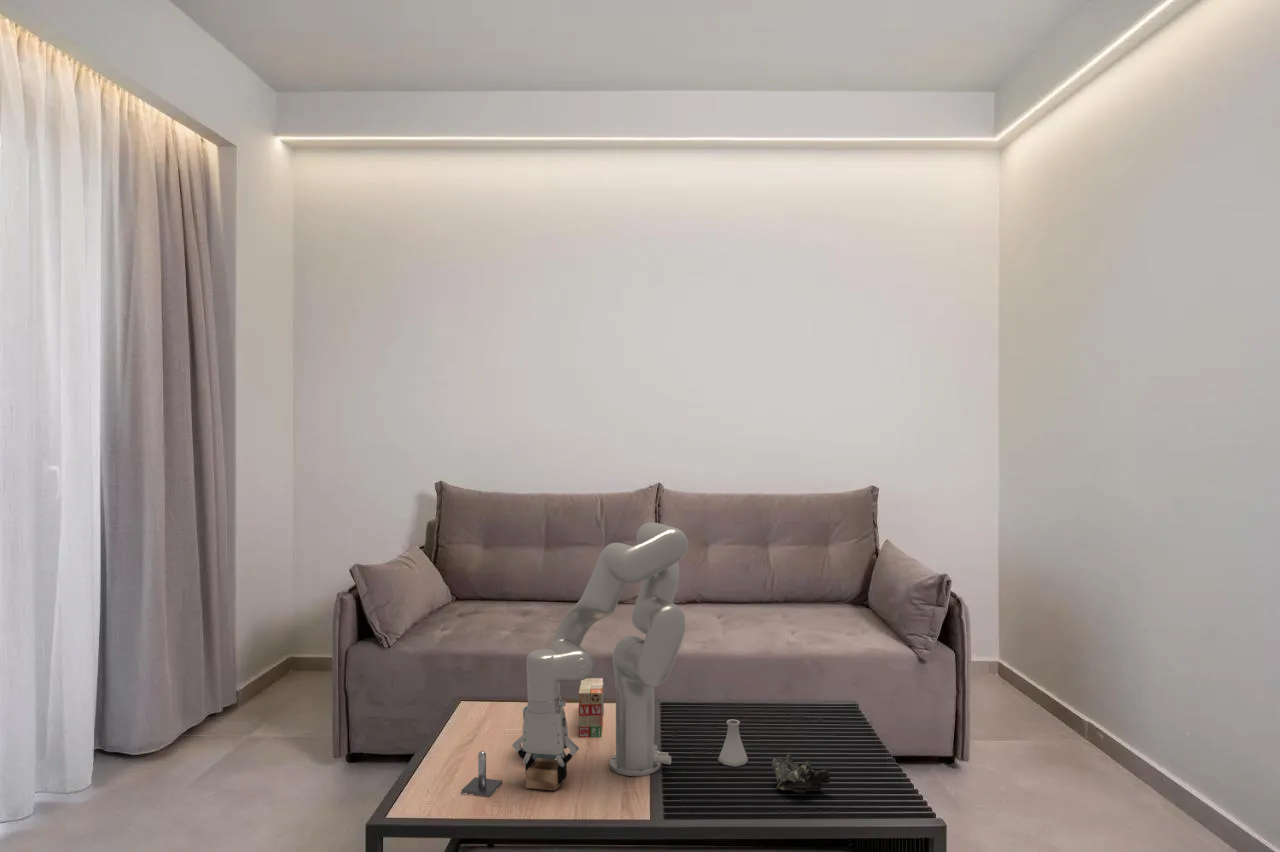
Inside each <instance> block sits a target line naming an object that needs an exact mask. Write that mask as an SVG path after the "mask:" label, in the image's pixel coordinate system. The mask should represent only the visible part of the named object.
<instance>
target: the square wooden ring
mask: <svg viewBox="0 0 1280 852" xmlns="http://www.w3.org/2000/svg"><path fill="white" fill-rule="evenodd" d="M558 766H559V762H558V760H557V759H556V760H555V759H544V758H537V759H536V760H535V761H534V763H533V764H532V765H531V766H530V767H529V768H528V769H527V770H526V774H525V780H526V781H525V783H526V788H527V789H535V790H543V791H544V790H545V791H546V790H547V791H556V790H558V788H559V786H561V784H560V783H558Z"/></svg>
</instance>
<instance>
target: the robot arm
mask: <svg viewBox="0 0 1280 852" xmlns="http://www.w3.org/2000/svg"><path fill="white" fill-rule="evenodd" d="M637 530H638V531H637V533H636V544H635V545H633V546H632V545H629V544H626V543H622V542H612V543H608V545H606V546H605V547H604V548H603V550H602V551H601V553H600V555H599V557H598V560H597V562H596V565H595V566H594V569H593V571H592V573H591V576H590V578H589V580H588V583H587V585H586V587H585V589H584V592H583V594H582V596H581V597H580V599H579V601H577V603H575V604H574V606H572V608H571V609H570V610H569V611H568V612H567V613H566V615H565V616H564V617H562V618H563V619H561V621H560V623H559V625H558V627H557V630H556V632H555V634H554V636H553V639H552V641H551V644H550V646H549V649H548V648H542V649H536V650H533V651H531V652H529V653H528V655H527V657H526V684H527V685H526V686H527V688H526V689H527V690H526V693H527V694H526V695H527V706H528V708H527V709H526V711H525V717H524V718H523V726H522V735H521V736H520V737H519V738H518V739H516V740H515V741H514V742H513V743H512V744H511V746H512V748H513V749H514V750H515V752H517V754H518V756H519V757H520V759H521V760H522V762H523V763H524V765H525V766H524V767H525V770H524V771H525V775H526V770H527V769H528V768H529V767H530V766H531V765H532V764H533V763H534V759H533V758H532V756H533V754H543V755H555V756H556V758H557V759H556V760H558V762H559V766H558V783H560V785H561V784H562V783H563V782H564V781H565V780H566V778H567V776H568V772H567V770H568V768H567V764H568V762H569V761H571V760H572V758H573V757H574V756H575V755H576V754H577V753H578V751H579V750H580V749H579V746H578V745H577V744H575V742H574V741H572V740H571V739H570V738H569V730H568V722H567V717H566V712H565V709H564V707H566V706H567V701H566V700H563V699H562V696H561V691H560V690H561V689H560V687H561V686H560V685H561V684H560V683H561V682H581V680H584V679H586V678H589V677H590V676H591V675H592V674H593V672H594V670H595V660H594V657H593V656H592V654H591V653H590V652H589V651H588V650H587V649H584V648H583V647H582V646H581V644H582V643H583V640H584V638H585V637H586V634H587V632H588V631H589V630H590V629H591V627H592V626H593V625H594V624H596V623H597V622H598V621H600V620H602V619H605V618H607V617H609V616H611V615H612V614H613V613H614V612H615V611H616V608H617V606H618V603H619V601H620V598H621V596H622V593H623V591H624V589H625V587H626V585H627V583H628V584H637V583H640V582H642V581H643V583H642V585H641V588H640V591H639V592H638V596H637V599H636V602H635V605H634V607H633V609H632V614H631V622H632V625H633V626H634V628H635V629H636V630H638V631H640V632H641V634H645V637H644V638H643V637H639V636H635V635H629V636H625V637H623V638H621V639H620V640H618V642H617V643H616V644H615V647H614V649H613V651H612V668H613V669H612V670H613V674H614V683H615V684H614V685H615V755H613V756H612V757H611V758H610V759H609V765H608V766H609V768H610V769H611V770H612V772H615V773H616V774H619V775H623V776H630V777H642V776H648V775H651V774H653V773H655V772H657V771H658V770H659V769H660V768H661V764H665V765H671V764H672V755H669V752H664V751H660V750H658V744H655V688H657V687H660V686H661V685H663V684H664V683H665V682H666V681H667V679H668V678H669V677H670V675H671V672H672V670H673V667H674V664H675V661H676V658H677V656H678V653H679V650H680V647H681V644H682V642H683V637H684V635H685V631H686V617H685V613H684V612H683V609H681V607H679V606H678V605H677V604H676V603H674V600H675V596H676V593H677V589H678V585H679V581H680V565H679V562H680V561H681V560H682V559H683V558H684V557H685V556H686V555H687V552H688V549H689V540H688V538H687V535H686V533H684V532H683V531H682V530H681V529H680V528H677V527H673V526H669V525H666V524H663V523H659V522H651V521H650V522H646V523H644V524H642V525H641V526H639V528H638V529H637ZM561 707H563V708H561ZM567 748H568V749H569V752H568V753H566V751H565V749H567Z"/></svg>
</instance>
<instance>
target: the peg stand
mask: <svg viewBox="0 0 1280 852" xmlns="http://www.w3.org/2000/svg"><path fill="white" fill-rule="evenodd" d="M477 756H478V757H477V761H478V763H477V766H478V768H477V770H478V771H477V772H478V775H477V776H475V777H473V778H472V779H471V780H470V781H469V782H468V783H467V784H466V785H465V786H464V787H463V788H462V789H461V794H462V793H467V794H466V795H469V794H473V795H472V796H477V795H482V796H481V797H485V796H488V797H487V798H490V797H492V795H494V793H496V791H497V790H498V789H499V788H500V787H501V786H502V785H503V780H500V779H494V778H487V753H486V751H484V750H481V751H479V752H478V755H477ZM501 784H502V785H501ZM500 785H501V786H500ZM499 786H500V787H499ZM498 787H499V788H498ZM497 788H498V789H497ZM496 789H497V790H496Z"/></svg>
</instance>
